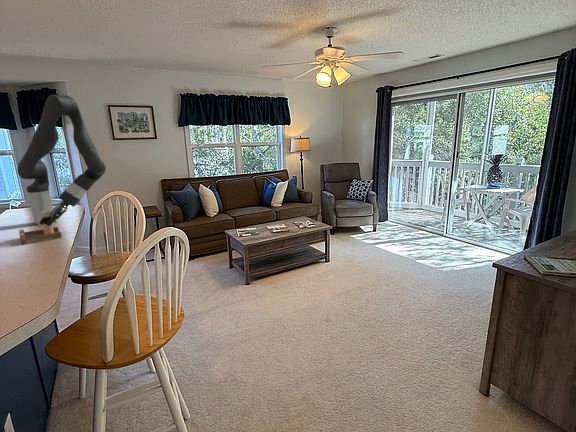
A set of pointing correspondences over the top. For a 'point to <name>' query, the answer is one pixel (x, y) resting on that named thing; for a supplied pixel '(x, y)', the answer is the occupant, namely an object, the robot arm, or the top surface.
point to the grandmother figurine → (46, 216)
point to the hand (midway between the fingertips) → (46, 223)
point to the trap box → (38, 236)
